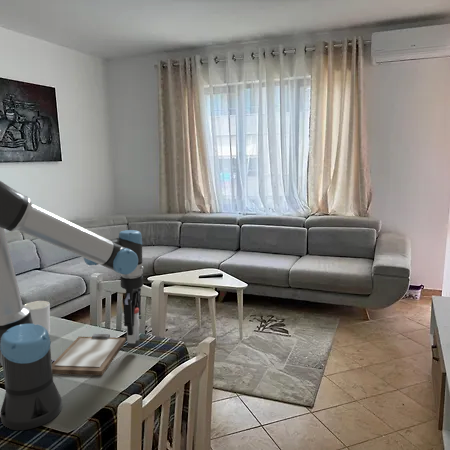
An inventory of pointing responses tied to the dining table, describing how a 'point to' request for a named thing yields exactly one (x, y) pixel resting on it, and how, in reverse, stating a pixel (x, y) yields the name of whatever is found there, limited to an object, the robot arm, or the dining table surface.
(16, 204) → the robot arm
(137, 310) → the marker
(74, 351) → the clipboard
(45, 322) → the candle holder
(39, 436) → the dining table surface
